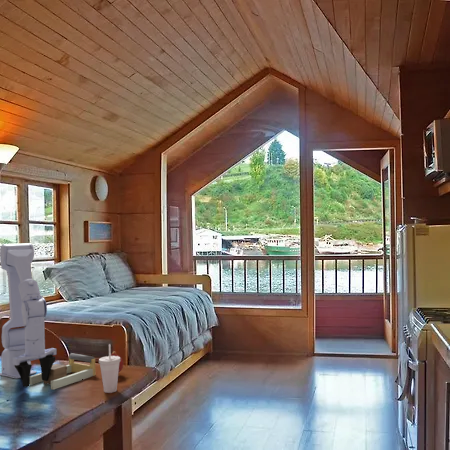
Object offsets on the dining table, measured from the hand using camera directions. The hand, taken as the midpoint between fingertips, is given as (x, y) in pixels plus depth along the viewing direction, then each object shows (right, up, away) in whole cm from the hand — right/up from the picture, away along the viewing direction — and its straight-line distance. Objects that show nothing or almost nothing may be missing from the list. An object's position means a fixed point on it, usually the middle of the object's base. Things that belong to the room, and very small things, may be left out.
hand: (35, 383), depth 160 cm
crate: (+4, -2, +6) cm, 7 cm away
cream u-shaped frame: (+5, -2, +8) cm, 10 cm away
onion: (+22, -1, +12) cm, 25 cm away
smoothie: (+24, -1, -4) cm, 24 cm away
